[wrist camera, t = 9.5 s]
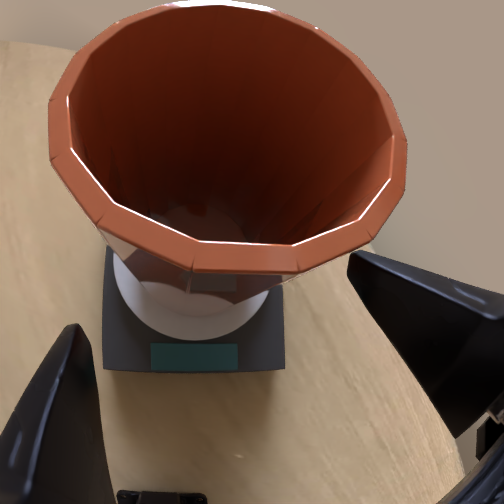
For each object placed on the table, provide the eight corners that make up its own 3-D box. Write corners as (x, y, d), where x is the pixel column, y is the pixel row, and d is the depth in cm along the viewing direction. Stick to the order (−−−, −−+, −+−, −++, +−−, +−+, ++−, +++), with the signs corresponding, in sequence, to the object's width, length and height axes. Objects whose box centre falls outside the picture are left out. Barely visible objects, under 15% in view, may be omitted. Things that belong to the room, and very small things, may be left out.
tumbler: (254, 317, 16) (438, 274, 4) (134, 314, 15) (-1, 261, 3) (251, 206, 18) (361, 34, 6) (142, 200, 17) (113, -2, 4)
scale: (275, 365, 19) (290, 370, 16) (110, 365, 16) (99, 370, 14) (268, 200, 22) (280, 182, 19) (120, 192, 19) (114, 173, 17)
